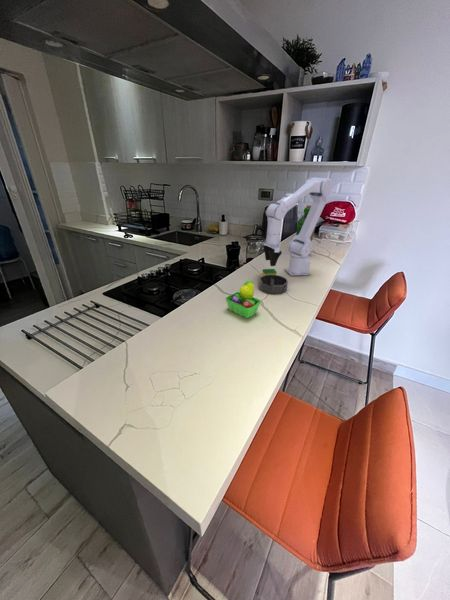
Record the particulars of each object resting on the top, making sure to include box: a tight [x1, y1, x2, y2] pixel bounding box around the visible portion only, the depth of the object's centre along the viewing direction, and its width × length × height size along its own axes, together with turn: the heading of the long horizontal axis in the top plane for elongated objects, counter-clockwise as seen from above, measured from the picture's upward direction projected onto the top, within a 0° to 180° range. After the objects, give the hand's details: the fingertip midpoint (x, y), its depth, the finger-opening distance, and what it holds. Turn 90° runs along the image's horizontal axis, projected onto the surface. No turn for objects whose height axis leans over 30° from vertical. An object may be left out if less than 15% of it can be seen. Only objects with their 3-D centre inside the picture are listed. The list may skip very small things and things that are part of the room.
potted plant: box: [295, 204, 316, 243], centre depth 149 cm, size 11×11×28 cm
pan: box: [258, 274, 289, 295], centre depth 113 cm, size 12×12×4 cm
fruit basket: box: [225, 280, 262, 319], centre depth 93 cm, size 11×9×11 cm
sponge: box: [261, 268, 277, 277], centre depth 121 cm, size 4×6×4 cm
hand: (270, 262), depth 118 cm, fingers open, 7 cm apart
